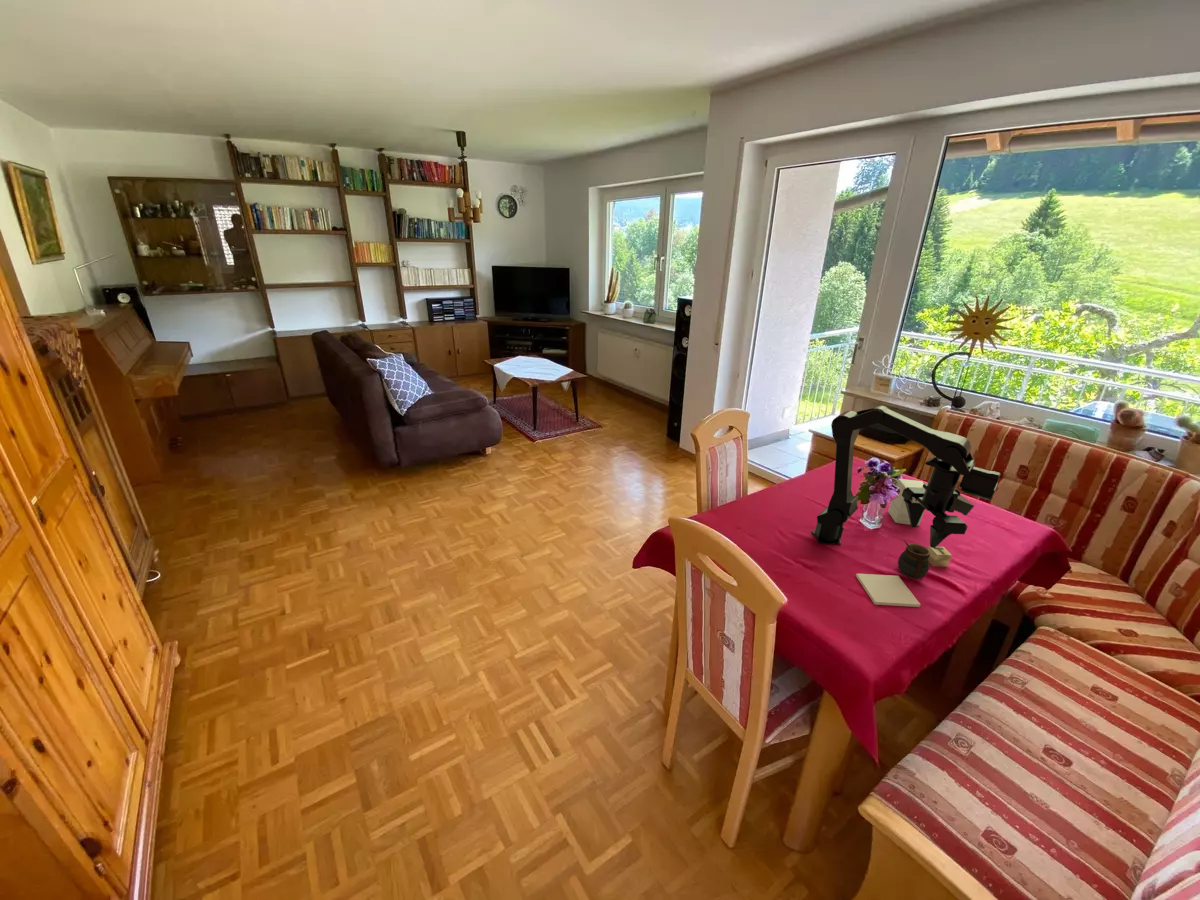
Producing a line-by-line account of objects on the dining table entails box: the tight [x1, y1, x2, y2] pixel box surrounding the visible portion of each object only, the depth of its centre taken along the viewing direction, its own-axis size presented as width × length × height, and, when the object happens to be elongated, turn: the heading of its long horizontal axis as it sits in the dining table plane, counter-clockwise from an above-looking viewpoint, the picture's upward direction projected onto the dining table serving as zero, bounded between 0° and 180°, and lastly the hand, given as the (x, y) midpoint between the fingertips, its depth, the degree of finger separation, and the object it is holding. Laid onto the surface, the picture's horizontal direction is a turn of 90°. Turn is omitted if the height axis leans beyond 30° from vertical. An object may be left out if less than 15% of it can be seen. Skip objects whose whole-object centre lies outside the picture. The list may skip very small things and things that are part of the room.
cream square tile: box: [855, 573, 921, 608], centre depth 127 cm, size 11×11×1 cm
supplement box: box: [888, 478, 926, 527], centre depth 157 cm, size 7×7×13 cm
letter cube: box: [927, 545, 953, 568], centre depth 138 cm, size 4×4×4 cm
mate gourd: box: [897, 539, 930, 580], centre depth 132 cm, size 7×8×10 cm
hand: (922, 537), depth 129 cm, fingers open, 9 cm apart
